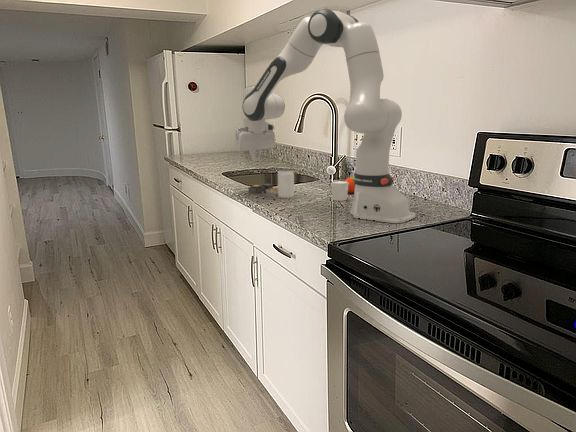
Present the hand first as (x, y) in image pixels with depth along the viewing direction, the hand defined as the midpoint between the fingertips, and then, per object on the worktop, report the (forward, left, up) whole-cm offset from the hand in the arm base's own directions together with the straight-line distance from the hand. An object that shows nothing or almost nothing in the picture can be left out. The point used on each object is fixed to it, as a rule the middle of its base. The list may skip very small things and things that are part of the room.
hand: (255, 160), depth 190 cm
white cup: (-32, -15, -15) cm, 39 cm away
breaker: (0, 0, -13) cm, 13 cm away
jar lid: (-7, -4, -13) cm, 16 cm away
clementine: (-29, -28, -15) cm, 43 cm away
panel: (-4, -3, -15) cm, 16 cm away
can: (-15, -2, -15) cm, 21 cm away
